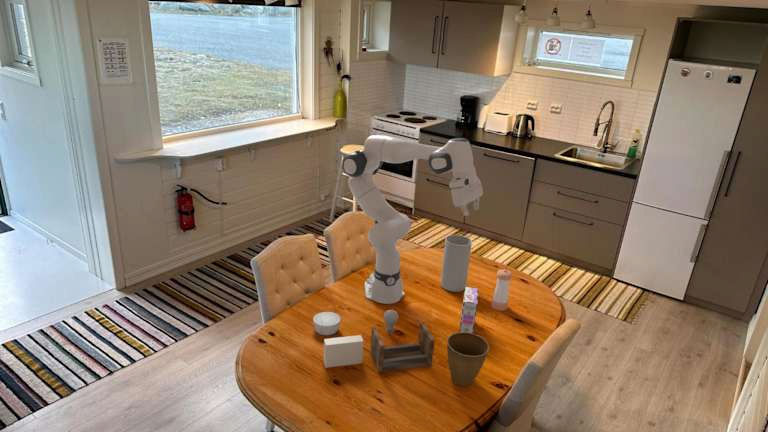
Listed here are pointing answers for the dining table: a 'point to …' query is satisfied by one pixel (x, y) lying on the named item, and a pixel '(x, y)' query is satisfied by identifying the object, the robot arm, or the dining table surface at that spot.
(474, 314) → the candy box
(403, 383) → the dining table surface
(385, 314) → the lightbulb
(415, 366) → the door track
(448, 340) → the plant pot
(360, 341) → the door panel
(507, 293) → the salt shaker
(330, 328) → the ramekin
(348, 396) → the dining table surface
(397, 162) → the robot arm
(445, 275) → the cylinder vase
